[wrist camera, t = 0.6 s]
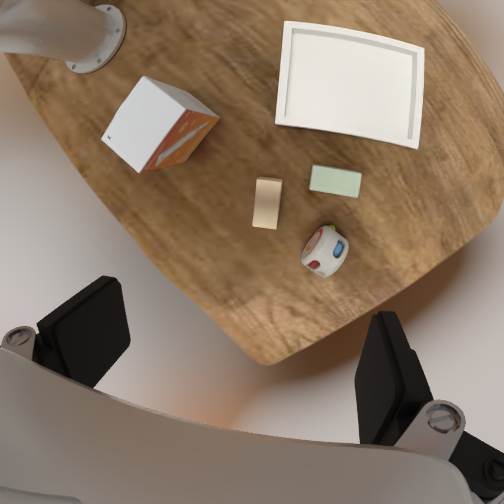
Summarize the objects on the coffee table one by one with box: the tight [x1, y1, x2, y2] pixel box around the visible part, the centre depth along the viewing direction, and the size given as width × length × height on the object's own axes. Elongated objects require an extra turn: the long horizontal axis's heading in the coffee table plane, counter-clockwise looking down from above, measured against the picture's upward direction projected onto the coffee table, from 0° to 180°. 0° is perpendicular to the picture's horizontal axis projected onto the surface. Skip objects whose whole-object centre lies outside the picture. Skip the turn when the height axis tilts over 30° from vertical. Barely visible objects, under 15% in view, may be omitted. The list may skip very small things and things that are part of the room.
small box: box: [101, 76, 220, 173], centre depth 31 cm, size 8×6×13 cm
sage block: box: [309, 164, 362, 198], centre depth 36 cm, size 6×3×3 cm, turn 84°
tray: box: [275, 21, 424, 149], centre depth 31 cm, size 18×14×2 cm
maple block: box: [253, 177, 283, 229], centre depth 38 cm, size 6×3×3 cm, turn 175°
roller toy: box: [301, 225, 349, 277], centre depth 38 cm, size 4×6×6 cm
